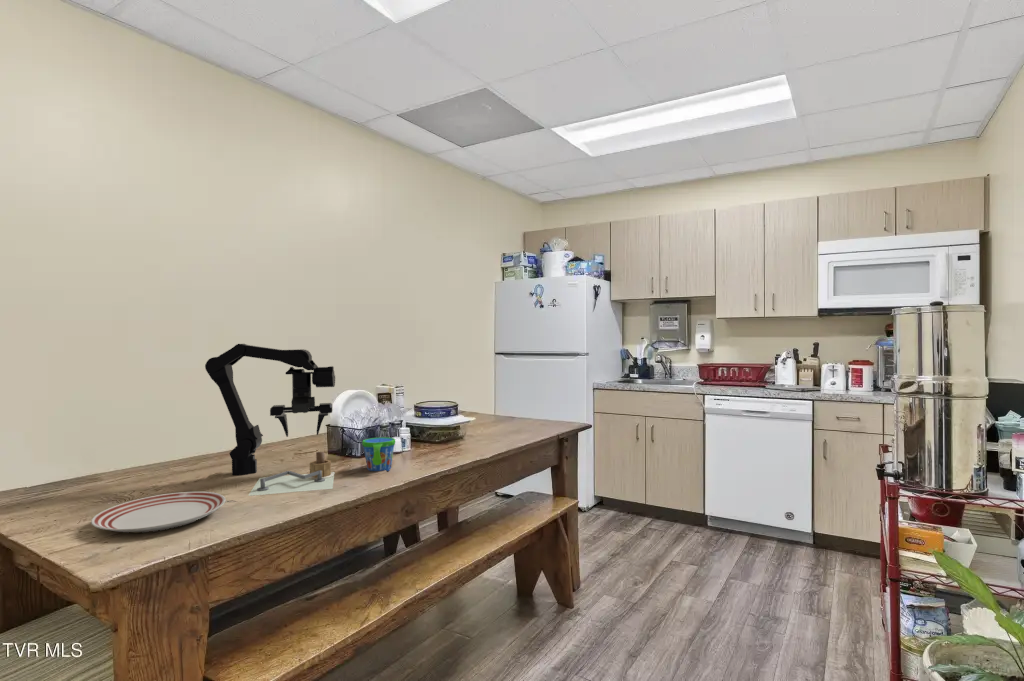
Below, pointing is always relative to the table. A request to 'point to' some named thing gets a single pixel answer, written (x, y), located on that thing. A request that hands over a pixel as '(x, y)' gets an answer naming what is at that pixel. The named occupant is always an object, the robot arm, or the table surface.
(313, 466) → the ring
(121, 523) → the dinner plate
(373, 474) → the table surface
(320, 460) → the peg stand
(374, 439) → the snack cup
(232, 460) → the robot arm
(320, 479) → the wire course
